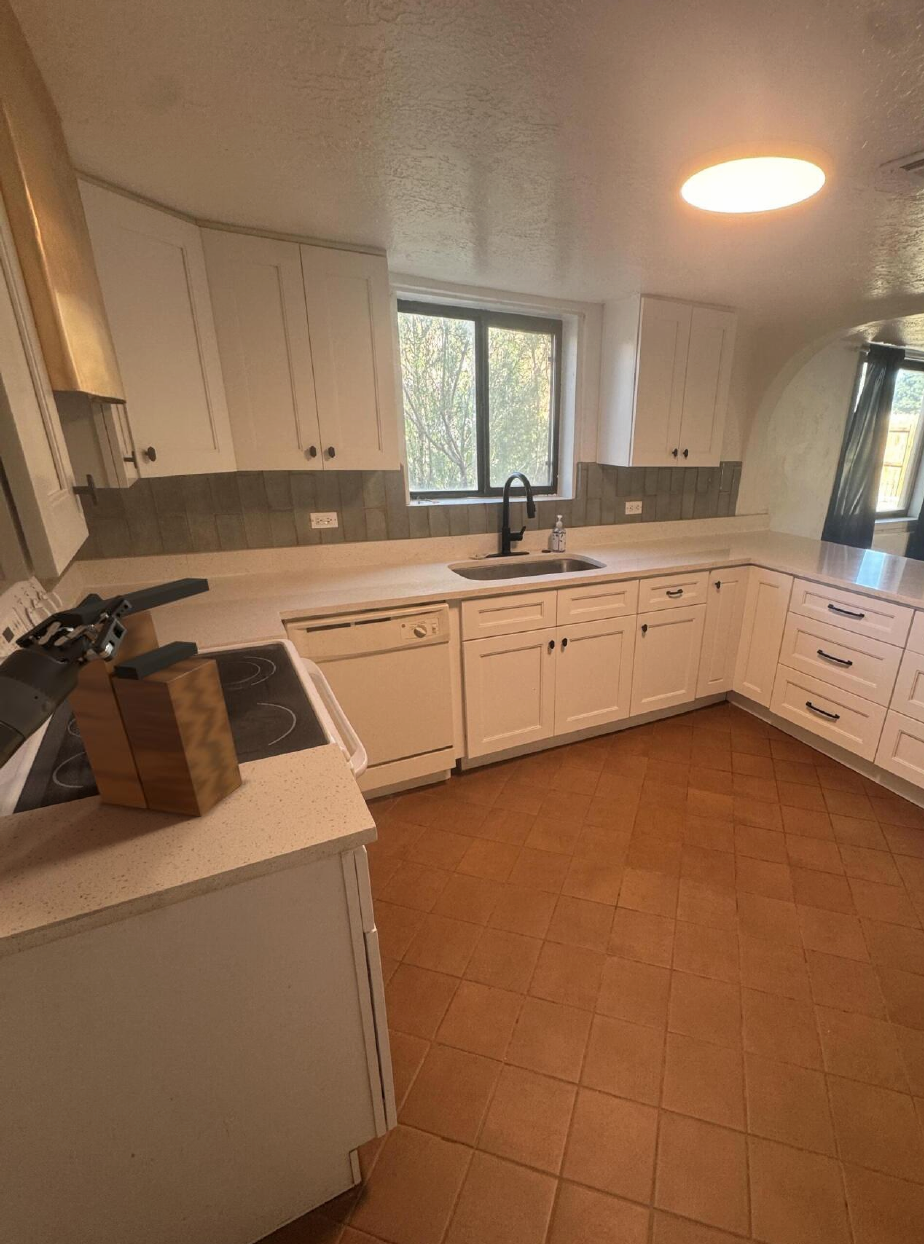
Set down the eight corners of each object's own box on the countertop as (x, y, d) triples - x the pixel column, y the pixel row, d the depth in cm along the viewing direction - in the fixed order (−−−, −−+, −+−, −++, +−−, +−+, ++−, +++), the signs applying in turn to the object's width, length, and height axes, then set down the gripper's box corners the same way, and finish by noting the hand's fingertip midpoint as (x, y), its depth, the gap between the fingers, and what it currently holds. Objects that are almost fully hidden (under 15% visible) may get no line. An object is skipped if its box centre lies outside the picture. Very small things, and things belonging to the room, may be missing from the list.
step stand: (201, 816, 94) (153, 631, 83) (102, 802, 97) (44, 624, 86) (242, 783, 103) (205, 613, 92) (151, 771, 107) (104, 606, 95)
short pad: (138, 680, 86) (135, 667, 86) (116, 678, 87) (112, 665, 86) (198, 653, 97) (196, 642, 97) (178, 651, 98) (175, 640, 97)
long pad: (84, 629, 75) (80, 614, 74) (60, 627, 75) (55, 612, 75) (209, 590, 95) (207, 578, 94) (189, 589, 96) (186, 577, 95)
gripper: (44, 681, 65) (137, 580, 76) (-52, 672, 68) (51, 576, 79) (90, 718, 71) (171, 619, 82) (0, 708, 74) (89, 614, 84)
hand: (111, 598), depth 80 cm, fingers closed on long pad, 4 cm apart
